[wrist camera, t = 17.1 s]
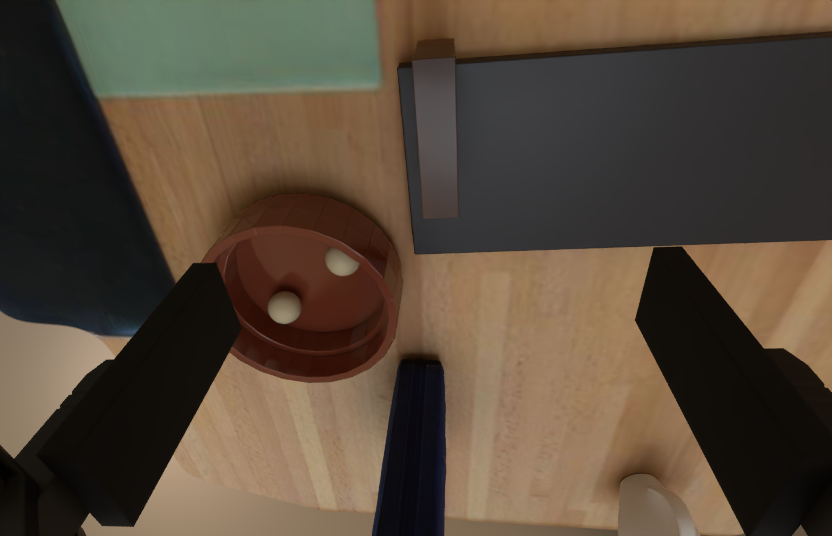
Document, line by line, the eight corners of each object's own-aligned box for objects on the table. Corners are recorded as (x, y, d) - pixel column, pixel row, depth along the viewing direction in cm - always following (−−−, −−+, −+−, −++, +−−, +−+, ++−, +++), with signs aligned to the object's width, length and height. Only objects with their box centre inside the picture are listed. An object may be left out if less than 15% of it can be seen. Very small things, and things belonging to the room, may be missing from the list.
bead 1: (261, 317, 40) (267, 323, 37) (269, 286, 40) (276, 290, 37) (292, 322, 41) (300, 329, 38) (300, 292, 41) (308, 297, 39)
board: (415, 245, 38) (414, 254, 36) (399, 63, 30) (397, 67, 28) (888, 227, 34) (905, 237, 33) (1011, 18, 26) (1038, 21, 25)
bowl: (212, 300, 42) (181, 345, 37) (246, 156, 34) (213, 190, 29) (366, 354, 45) (356, 403, 40) (432, 234, 37) (430, 277, 32)
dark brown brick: (426, 179, 33) (422, 219, 28) (417, 40, 28) (411, 59, 23) (457, 177, 32) (458, 217, 27) (454, 38, 27) (455, 56, 22)
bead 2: (325, 253, 37) (317, 276, 35) (334, 228, 36) (326, 251, 34) (357, 264, 38) (351, 287, 36) (367, 240, 36) (362, 263, 34)
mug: (665, 502, 57) (708, 609, 48) (597, 500, 58) (626, 606, 48) (692, 444, 50) (749, 556, 41) (615, 443, 51) (653, 553, 42)
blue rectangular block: (444, 440, 52) (443, 662, 36) (398, 439, 53) (377, 658, 36) (447, 351, 44) (446, 585, 28) (393, 350, 45) (361, 580, 28)
